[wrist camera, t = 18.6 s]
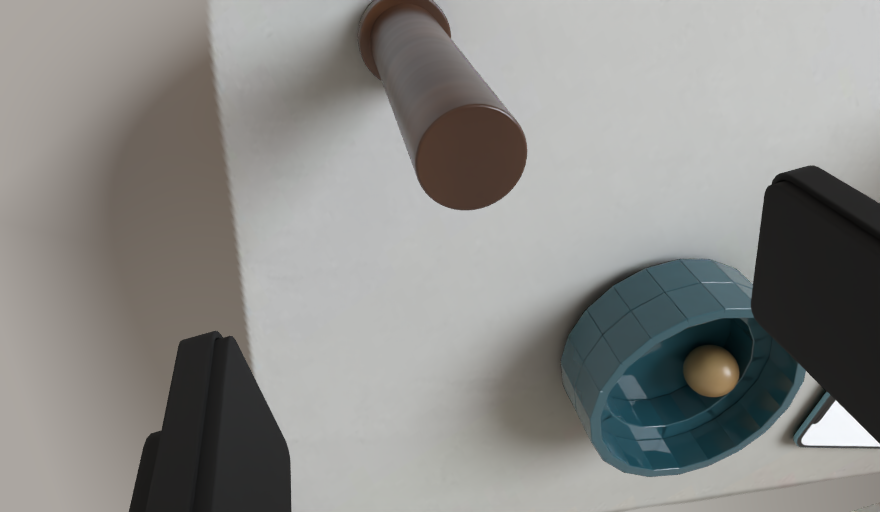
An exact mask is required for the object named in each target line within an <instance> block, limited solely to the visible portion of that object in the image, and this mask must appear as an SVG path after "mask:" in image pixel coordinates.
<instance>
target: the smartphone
mask: <svg viewBox="0 0 880 512" xmlns="http://www.w3.org/2000/svg"><path fill="white" fill-rule="evenodd" d="M793 440H794V442H795V444H796V445H797V446H799V447H808V448H876V449H880V444H879V443H878V442H877V441H876V440H875V439H874V438H873V437H872V436H871V435H870V434H869V433H868V432H867V431H866V430H865V429H864V428H863V427H862V426H861V425H860V424H859V423H858V422H857V421H856V420H855V419H854V418H853V417H852V416H851V415H850V414H849V413H848V412H847V411H846V410H845V409H844V408H843V407H842V406H841V405H840V404H839V403H838V402H837V401H836V400H835V399H834V398H833V397H832V396H831V395H830V394H829V393H828V392H827V391H826V393H825V394H824V395H823V397H822V398H821V399H820V401H819V402H818V404H817V405H816V406H815V408H814V409H813V410H812V412H811V413H810V414H809V416H808V417H807V418H806V420H805V421H804V422H803V424H802V425H801V426H800V428H799V429H798V431H797V432H796V433H795V435H794V438H793Z"/></svg>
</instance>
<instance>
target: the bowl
mask: <svg viewBox="0 0 880 512" xmlns="http://www.w3.org/2000/svg"><path fill="white" fill-rule="evenodd" d="M752 289H753V284H752V283H751V282H750V281H749V280H747V279H746V278H745V277H744V276H743V275H742V274H741V273H740V272H739V271H738V270H737V269H735V268H733V267H730V266H727V265H724V264H722V263H719V262H716V261H714V260H710V259H679V260H674V261H670V262H667V263H663V264H659V265H655V266H652V267H648V268H646V269H643V270H641V271H639V272H637V273H635V274H634V275H632V276H630V277H628V278H626V279H624V280H622V281H621V282H619V283H617V284H615V285H614V287H611V288H610V289H609V290H608V291H606V292H605V293H604V294H603V295H602V296H601V297H600V298H599V299H597V300H596V301H595V302H594V303H593V304H592V305H591V306H589V307H588V308H587V310H585V312H584V313H583V315H582V316H581V318H580V319H579V321H578V322H577V323H576V325H575V326H574V328H573V329H572V331H571V332H570V334H569V336H568V338H567V342H566V345H565V348H564V352H563V355H562V358H561V370H562V380H563V386H564V388H565V390H566V392H567V394H568V396H569V398H570V400H571V402H572V404H573V406H574V408H575V410H576V412H577V414H578V416H579V418H580V420H581V422H582V424H583V426H584V429H585V431H586V433H587V435H588V437H589V439H590V441H591V443H592V444H593V446H594V447H595V449H596V450H597V452H598V454H599V455H600V457H601V458H602V460H603V461H605V462H607V463H608V464H610V465H612V466H613V467H615V468H617V469H618V470H620V471H622V472H624V473H629V474H635V475H640V476H646V477H656V476H668V475H678V474H683V473H686V472H690V471H693V470H697V469H700V468H703V467H707V466H709V465H712V464H714V463H716V462H718V461H720V460H722V459H724V458H726V457H728V456H730V455H732V454H734V453H736V452H738V451H739V450H742V449H743V448H744V447H746V446H747V445H748V444H750V443H751V442H753V441H754V440H755V439H757V438H758V437H759V436H761V435H762V434H764V433H765V432H766V431H767V430H768V429H769V428H770V427H771V426H772V425H773V424H774V423H775V422H776V421H777V420H778V419H779V418H780V416H781V415H782V414H783V413H784V412H785V411H786V410H787V409H788V407H789V406H790V405H791V403H792V401H793V399H794V398H795V396H796V394H797V392H798V391H799V389H800V387H801V385H802V384H803V382H804V378H805V373H806V370H805V369H804V368H803V367H802V366H801V365H800V364H799V363H798V362H797V361H796V360H795V359H794V358H793V357H792V356H791V355H790V354H789V353H788V352H787V351H786V350H785V349H784V348H782V347H781V346H780V345H779V344H778V343H777V342H776V341H775V340H774V339H773V338H772V337H771V336H770V335H769V334H768V333H767V332H766V331H765V330H764V329H763V328H762V327H761V326H760V325H759V324H758V322H757V321H756V320H755V318H754V316H753V313H752V310H751V297H752ZM702 345H716V346H720V347H722V348H724V349H726V350H727V351H729V352H730V353H731V354H732V355H733V356H734V358H735V359H736V361H737V363H738V366H739V379H738V382H737V384H736V386H735V387H734V389H733V390H732V391H730V392H729V393H728V394H726V395H723V396H720V397H706V396H703V395H700V394H698V393H697V392H695V391H694V390H693V389H691V388H690V386H689V385H688V384H687V382H686V380H685V378H684V374H683V364H684V361H685V358H686V357H687V355H688V354H689V353H690V352H691V351H692V350H693V349H695V348H697V347H699V346H702Z"/></svg>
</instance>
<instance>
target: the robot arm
mask: <svg viewBox="0 0 880 512" xmlns="http://www.w3.org/2000/svg"><path fill="white" fill-rule="evenodd" d="M751 310H752V313H753V316H754V318H755V320H756V321H757V322H758V324H759V325H760V326H761V327H762V328H763V329H764V330H765V331H766V332H767V333H768V334H769V335H770V336H771V337H772V338H773V339H774V340H775V341H776V342H777V343H778V344H779V345H780V346H781V347H782V348H784V349H785V350H786V351H787V352H788V353H789V354H790V355H791V356H792V357H793V358H794V359H795V360H796V361H797V362H798V363H799V364H800V365H801V366H802V367H803V368H804V369H805V370H806V371H807V372H808V373H809V374H810V375H811V376H812V377H813V378H814V379H815V380H816V381H817V382H818V383H819V384H820V385H821V386H822V387H823V388H824V389H825V390H826V391H827V392H828V393H829V394H830V395H831V396H832V397H833V398H834V399H835V400H836V401H837V402H838V403H839V404H840V405H841V406H842V407H843V408H844V409H845V410H846V411H847V412H848V413H849V414H850V415H851V416H852V417H853V418H854V419H855V420H856V421H857V422H858V423H859V424H860V425H861V426H862V427H863V428H864V429H865V430H866V431H867V432H868V433H869V434H870V435H871V436H872V437H873V438H874V439H875V440H876V441H877V442H878V443H879V444H880V203H878V202H876V201H875V200H873V199H871V198H870V197H868V196H866V195H864V194H863V193H861V192H859V191H858V190H856V189H854V188H853V187H851V186H849V185H848V184H846V183H844V182H842V181H841V180H839V179H837V178H836V177H834V176H832V175H831V174H829V173H827V172H826V171H824V170H822V169H820V168H819V167H816V166H806V167H802V168H799V169H795V170H791V171H788V172H784V173H781V174H779V175H777V176H776V177H775V178H774V179H773V181H772V185H770V186H768V187H767V189H766V191H765V195H764V203H763V211H762V219H761V227H760V234H759V242H758V250H757V258H756V265H755V273H754V281H753V289H752V297H751ZM129 512H291V471H290V455H289V450H288V447H287V443H286V441H285V439H284V437H283V435H282V433H281V431H280V429H279V427H278V425H277V423H276V421H275V419H274V417H273V415H272V413H271V410H270V408H269V406H268V404H267V402H266V400H265V398H264V396H263V394H262V392H261V390H260V388H259V386H258V384H257V382H256V380H255V378H254V376H253V374H252V372H251V370H250V368H249V366H248V364H247V362H246V360H245V358H244V356H243V354H242V352H241V350H240V348H239V346H238V344H237V342H236V340H235V339H234V338H233V336H228V337H225V338H223V337H222V335H221V334H220V333H219V332H218V331H213V332H210V333H206V334H202V335H199V336H195V337H192V338H188V339H184V340H182V341H181V342H180V344H179V346H178V351H177V357H176V361H175V366H174V372H173V376H172V381H171V386H170V391H169V396H168V402H167V407H166V411H165V417H164V421H163V426H162V431H158V432H155V433H151V434H150V435H149V436H148V438H147V439H146V442H145V444H144V447H143V452H142V456H141V460H140V465H139V469H138V474H137V478H136V482H135V487H134V491H133V496H132V500H131V505H130V509H129ZM852 512H880V503H876V504H873V505H870V506H867V507H864V508H861V509H858V510H854V511H852Z"/></svg>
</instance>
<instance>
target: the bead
mask: <svg viewBox="0 0 880 512" xmlns="http://www.w3.org/2000/svg"><path fill="white" fill-rule="evenodd" d="M683 374H684V378H685V380H686V382H687V384H688V385H689V386H690V388H691V389H693V390H694V391H695V392H697V393H698V394H700V395H703V396H706V397H720V396H723V395H726V394H728V393H729V392H730V391H732V390H733V389H734V387H735V386H736V384H737V382H738V379H739V366H738V363H737V361H736V359H735V358H734V356H733V355H732V354H731V353H730V352H729V351H727V350H726V349H724V348H722V347H720V346H716V345H702V346H699V347H697V348H695V349H693V350H692V351H691V352H690V353H689V354H688V355H687V357H686V358H685V361H684V364H683Z"/></svg>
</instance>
